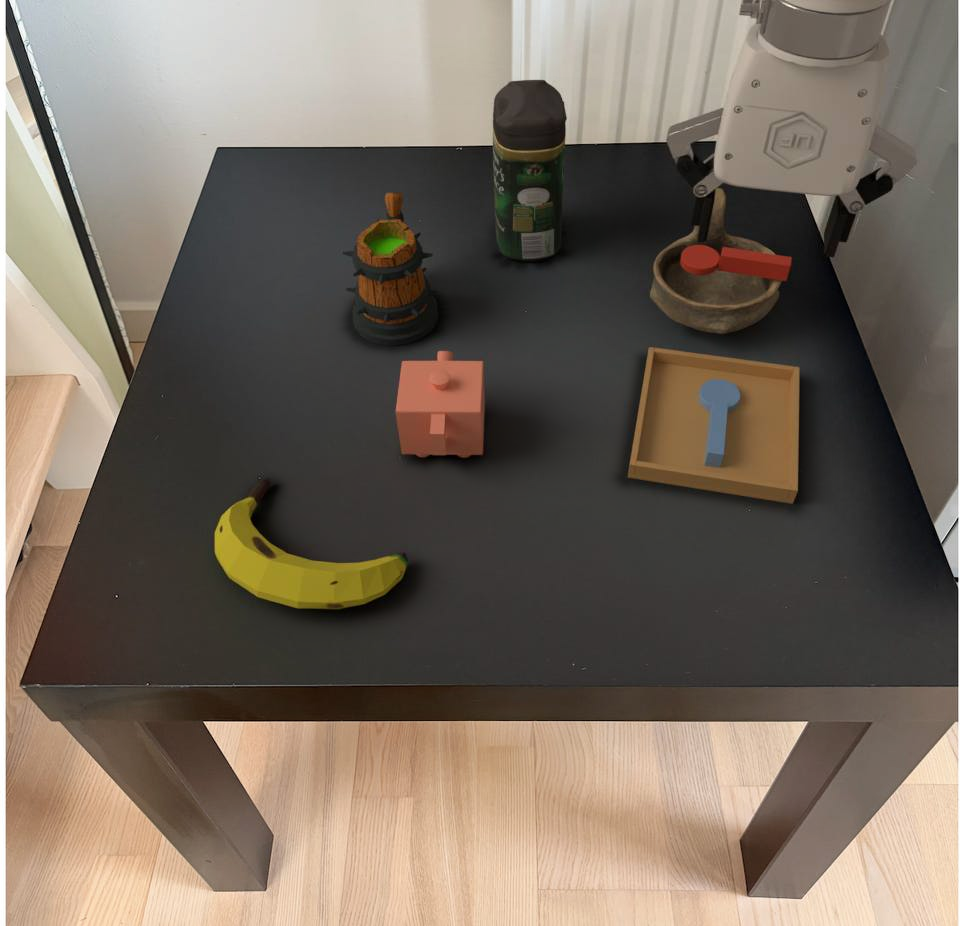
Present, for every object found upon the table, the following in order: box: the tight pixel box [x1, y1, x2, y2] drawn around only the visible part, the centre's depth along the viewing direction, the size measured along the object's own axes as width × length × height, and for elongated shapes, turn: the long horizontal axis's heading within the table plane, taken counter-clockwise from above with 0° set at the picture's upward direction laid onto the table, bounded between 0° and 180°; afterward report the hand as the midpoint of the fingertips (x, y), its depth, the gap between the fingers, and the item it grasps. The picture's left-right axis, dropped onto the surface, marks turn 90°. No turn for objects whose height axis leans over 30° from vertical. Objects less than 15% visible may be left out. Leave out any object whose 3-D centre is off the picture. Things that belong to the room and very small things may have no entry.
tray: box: [627, 346, 801, 505], centre depth 89 cm, size 15×16×2 cm
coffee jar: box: [492, 79, 568, 262], centre depth 102 cm, size 10×8×19 cm
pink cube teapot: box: [395, 350, 486, 459], centre depth 87 cm, size 8×12×8 cm, turn 178°
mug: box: [342, 192, 440, 347], centre depth 98 cm, size 13×10×12 cm
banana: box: [214, 478, 409, 610], centre depth 81 cm, size 5×17×15 cm
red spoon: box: [680, 245, 793, 282], centre depth 94 cm, size 11×4×2 cm, turn 74°
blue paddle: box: [699, 379, 740, 468], centre depth 88 cm, size 11×4×2 cm, turn 167°
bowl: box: [649, 187, 783, 335], centre depth 98 cm, size 14×18×10 cm
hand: (764, 238), depth 71 cm, fingers open, 9 cm apart
